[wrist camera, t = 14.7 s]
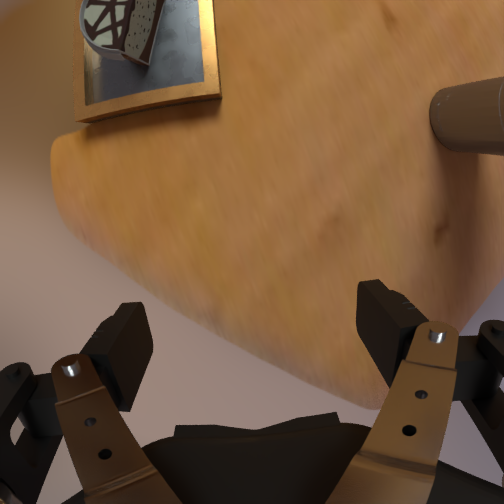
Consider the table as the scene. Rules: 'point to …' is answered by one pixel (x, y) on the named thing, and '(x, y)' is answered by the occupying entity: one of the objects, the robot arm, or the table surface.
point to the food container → (121, 28)
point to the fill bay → (151, 67)
